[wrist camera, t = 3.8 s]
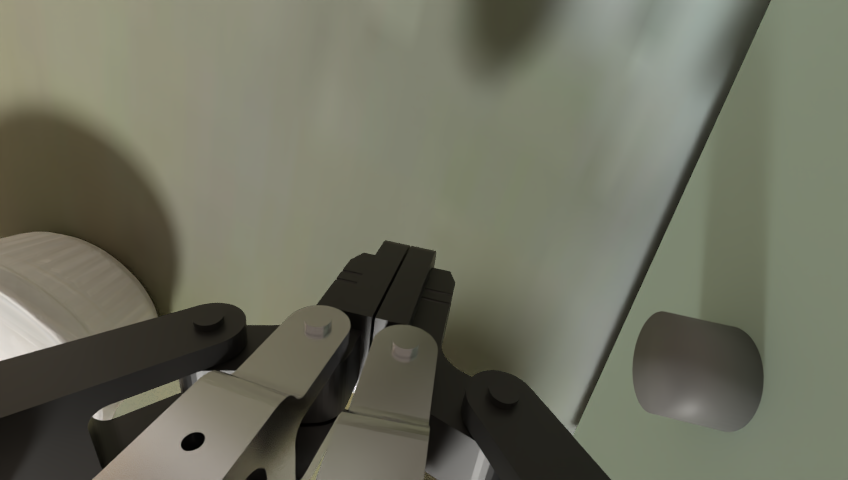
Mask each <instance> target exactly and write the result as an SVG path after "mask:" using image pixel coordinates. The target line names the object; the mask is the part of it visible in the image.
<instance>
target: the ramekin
mask: <svg viewBox="0 0 848 480" xmlns="http://www.w3.org/2000/svg"><path fill="white" fill-rule="evenodd" d="M156 317H158V315H157V312H156V309H155V306H154V304H153V302H152V300H151V298H150V296H149V295H148V293H147V292H146V290H145V289H144V287H143V286H142V285H141V283H140V282H139V281H138V280H137V278H136V277H135V276H134V275H133V274H132V273H131V272H130V271H129V270H128V269H127V268H126V267H125V266H124V265H123V264H122V263H120V262H119V261H118V260H117V259H115V258H114V257H113V256H111V255H110V254H108V253H107V252H105V251H104V250H102V249H101V248H99V247H97V246H95V245H93V244H91V243H89V242H87V241H84V240H81V239H79V238H75V237H72V236H67V235H63V234H57V233H52V232H29V233H22V234H17V235H13V236H9V237H4V238H0V361H2V360H6V359H9V358H13V357H16V356H20V355H23V354H27V353H31V352H34V351H38V350H41V349H45V348H49V347H52V346H56V345H59V344H63V343H66V342H70V341H74V340H77V339H81V338H84V337H88V336H92V335H95V334H99V333H102V332H106V331H109V330H113V329H117V328H120V327H124V326H127V325H131V324H135V323H138V322H142V321H145V320H149V319H153V318H156ZM122 402H123V400H121V401H119V402H116V403H113V404H111V405H108V406H106V407H104V408H102V409H101V410H99V411H98V412H97V413H95V414H94V415H93V416H92V417H93V418H95V419H97V420H111V419H112V417H113V415H114V413H115V410H116V409H117V407H118V406H119V405H120V404H121V403H122Z"/></svg>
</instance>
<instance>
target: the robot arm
mask: <svg viewBox="0 0 848 480" xmlns="http://www.w3.org/2000/svg"><path fill="white" fill-rule="evenodd" d="M435 258H436V251H433V250H428V249H424V248H419V247H414V246H411V247H410V246H409V245H405V244H400V243H395V242H391V241H386V240H385V241H384V242H383V244H382V245H381V247H380V249H379V250H378V252H377V253H376V255H372V254H367V253H362V254H361V255H359V256H357V257H355V258H353V259H351V260H350V261H349V262H348V264H347V265H346V266H345V268H344V269H343V272H341V273H340V274H339V276H338V277H337V280H335V281H334V282H333V284H332V285H331V286H330V288H329V289H328V290H327V292H326V293H325V294H324V296H323V297H322V298H321V300H320V301H319V302H318V304H317V305H314V306H308V307H304V308H301V309H299V310H297V311H295V312H293V313H292V314H291V315H290V316H289V317H288V318H287V319H286V320H285V321H284V322H283V323H282V324H281V325H246V316H245V314H244V312H243V311H242V310H241V309H240V308H238V307H236V306H234V305H230V304H225V303H209V304H203V305H199V306H196V307H192V308H188V309H185V310H181V311H178V312H174V313H170V314H167V315H163V316H160V317H156V318H153V319H149V320H145V321H142V322H138V323H135V324H131V325H127V326H124V327H120V328H117V329H113V330H109V331H106V332H102V333H99V334H95V335H92V336H88V337H84V338H81V339H77V340H74V341H70V342H66V343H63V344H59V345H56V346H52V347H49V348H45V349H41V350H38V351H34V352H31V353H27V354H23V355H20V356H16V357H13V358H9V359H6V360H2V361H0V480H310V479H311V477H312V476H313V474H314V472H315V470H316V468H317V467H318V465H319V463H320V461H321V459H322V457H323V456H324V454H325V456H324V458H323V461H322V464H321V467H320V469H319V472H318V475H317V477H316V480H424V474H425V472H427V473H428V474H430V475H431V476H433V477H434V478H436V479H437V480H611V479H610V478H609V477H608V475H607V474H606V473H605V472H604V471H603V470H602V469H601V467H600V466H599V465H598V464H597V463H596V462H595V461H594V460H593V458H592V457H591V456H590V455H589V454H588V453H587V452H586V450H585V449H584V448H583V447H582V446H581V445H580V444H579V443H578V441H577V440H576V439H575V438H574V437H573V436H572V435H571V433H570V432H569V431H568V430H567V429H566V428H565V427H564V425H563V424H562V423H561V422H560V421H559V420H558V419H557V418H556V416H555V415H554V414H553V413H552V412H551V411H550V410H549V408H548V407H547V406H546V405H545V404H544V403H543V402H542V401H541V399H540V398H539V397H538V396H537V395H536V394H535V393H534V391H533V390H532V389H531V388H530V387H529V386H528V385H527V384H526V383H525V382H523V381H522V380H521V379H519V378H517V377H516V376H513V375H511V374H509V373H506V372H502V371H495V370H489V371H483V372H480V373H477V374H476V375H474V376H473V377H471V376H469V375H467V374H465V373H463V372H461V371H460V370H458V369H456V368H455V367H454V366H453V365H452V364H451V363H450V362H449V361H448V360H447V359H446V358H445V356H444V354H443V352H442V349H441V347H442V343H443V338H444V334H445V330H446V325H447V321H448V316H449V311H450V306H451V301H452V296H453V291H454V286H455V281H454V279H453V277H452V275H451V272H450V271H445V270H441V269H436V268H434V264H435ZM178 379H179V382H180V388H181V393H179V394H176V395H174V396H171V397H168V398H166V399H163V400H161V401H158V402H156V403H153V404H151V405H148V406H145V407H143V408H140V409H138V410H135V411H133V412H130V413H128V414H125V415H122V416H120V417H117V418H115V419H111V420H97V419H95V418H93V417H92V416H93V415H94V414H95V413H97V412H98V411H99V410H101V409H102V408H104V407H106V406H108V405H111V404H113V403H116V402H119V401H121V400H124V399H127V398H129V397H132V396H135V395H138V394H140V393H143V392H146V391H148V390H151V389H154V388H156V387H159V386H162V385H164V384H167V383H170V382H172V381H175V380H178ZM352 393H354V396H353V398H352V401H351V404H350V407H349V409H348V410H346V409H345V407H346V405H347V403H348V401H349V398H350V396H351V394H352ZM325 452H326V453H325Z"/></svg>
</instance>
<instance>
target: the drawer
mask: <svg viewBox="0 0 848 480" xmlns="http://www.w3.org/2000/svg"><path fill="white" fill-rule="evenodd" d="M573 437H574V438H575V439H576V440H577V441H578V443H579V444H580V445H581V446H582V447H583V448H584V449H585V450H586V452H587V453H588V454H589V455H590V456H591V457H592V458H593V460H594V461H595V462H596V463H597V464H598V465H599V466H600V467H601V469H602V470H603V471H604V472H605V473H606V474H607V475H608V477H609V478H610V479H611V480H848V0H771V2H770V4H769V6H768V8H767V10H766V13H765V15H764V17H763V19H762V21H761V24H760V26H759V28H758V30H757V32H756V35H755V37H754V39H753V41H752V43H751V46H750V48H749V50H748V52H747V54H746V57H745V59H744V61H743V63H742V65H741V68H740V70H739V72H738V74H737V76H736V79H735V81H734V83H733V85H732V87H731V90H730V92H729V94H728V96H727V98H726V101H725V103H724V105H723V107H722V109H721V112H720V114H719V116H718V118H717V120H716V123H715V125H714V127H713V129H712V131H711V134H710V136H709V138H708V140H707V142H706V145H705V147H704V149H703V151H702V153H701V156H700V158H699V160H698V162H697V164H696V167H695V169H694V171H693V173H692V175H691V178H690V180H689V182H688V184H687V186H686V189H685V191H684V193H683V195H682V197H681V200H680V202H679V204H678V206H677V208H676V211H675V213H674V215H673V217H672V219H671V222H670V224H669V226H668V228H667V230H666V233H665V235H664V237H663V239H662V241H661V244H660V246H659V248H658V250H657V252H656V255H655V257H654V259H653V261H652V263H651V266H650V268H649V270H648V272H647V274H646V277H645V279H644V281H643V283H642V285H641V288H640V290H639V292H638V294H637V296H636V299H635V301H634V303H633V305H632V307H631V310H630V312H629V314H628V316H627V318H626V321H625V323H624V325H623V327H622V329H621V332H620V334H619V336H618V338H617V340H616V343H615V345H614V347H613V349H612V351H611V354H610V356H609V358H608V360H607V362H606V365H605V367H604V369H603V371H602V373H601V376H600V378H599V380H598V382H597V384H596V387H595V389H594V391H593V393H592V395H591V398H590V400H589V402H588V404H587V406H586V409H585V411H584V413H583V415H582V417H581V420H580V422H579V424H578V426H577V428H576V431H575V433H574V435H573Z"/></svg>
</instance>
